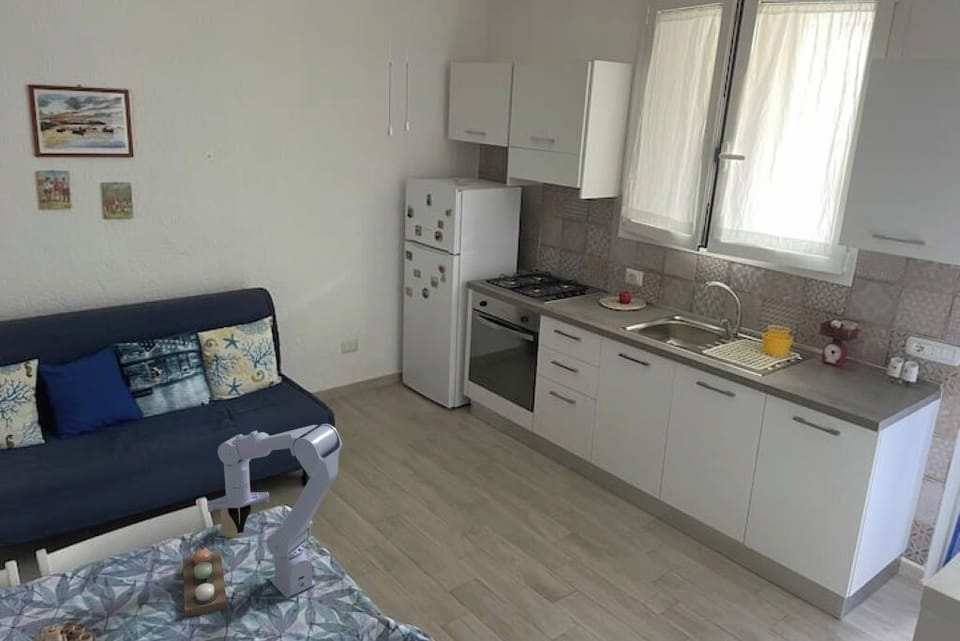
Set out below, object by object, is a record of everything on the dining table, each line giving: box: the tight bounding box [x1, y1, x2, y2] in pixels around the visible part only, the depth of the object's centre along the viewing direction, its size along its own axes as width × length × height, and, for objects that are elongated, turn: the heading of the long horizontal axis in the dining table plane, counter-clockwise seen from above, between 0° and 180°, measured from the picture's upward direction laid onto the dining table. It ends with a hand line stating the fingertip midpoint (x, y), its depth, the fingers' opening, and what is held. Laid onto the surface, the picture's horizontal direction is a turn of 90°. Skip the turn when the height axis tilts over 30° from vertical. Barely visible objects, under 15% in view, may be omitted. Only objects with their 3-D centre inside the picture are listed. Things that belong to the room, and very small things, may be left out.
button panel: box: [182, 551, 228, 618], centre depth 173 cm, size 20×9×2 cm, turn 23°
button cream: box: [195, 583, 214, 601], centre depth 166 cm, size 4×4×2 cm
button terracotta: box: [192, 548, 212, 565], centre depth 179 cm, size 4×4×2 cm
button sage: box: [194, 562, 212, 579], centre depth 172 cm, size 4×4×2 cm
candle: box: [220, 508, 243, 539], centre depth 194 cm, size 6×6×10 cm
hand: (240, 530), depth 180 cm, fingers closed
